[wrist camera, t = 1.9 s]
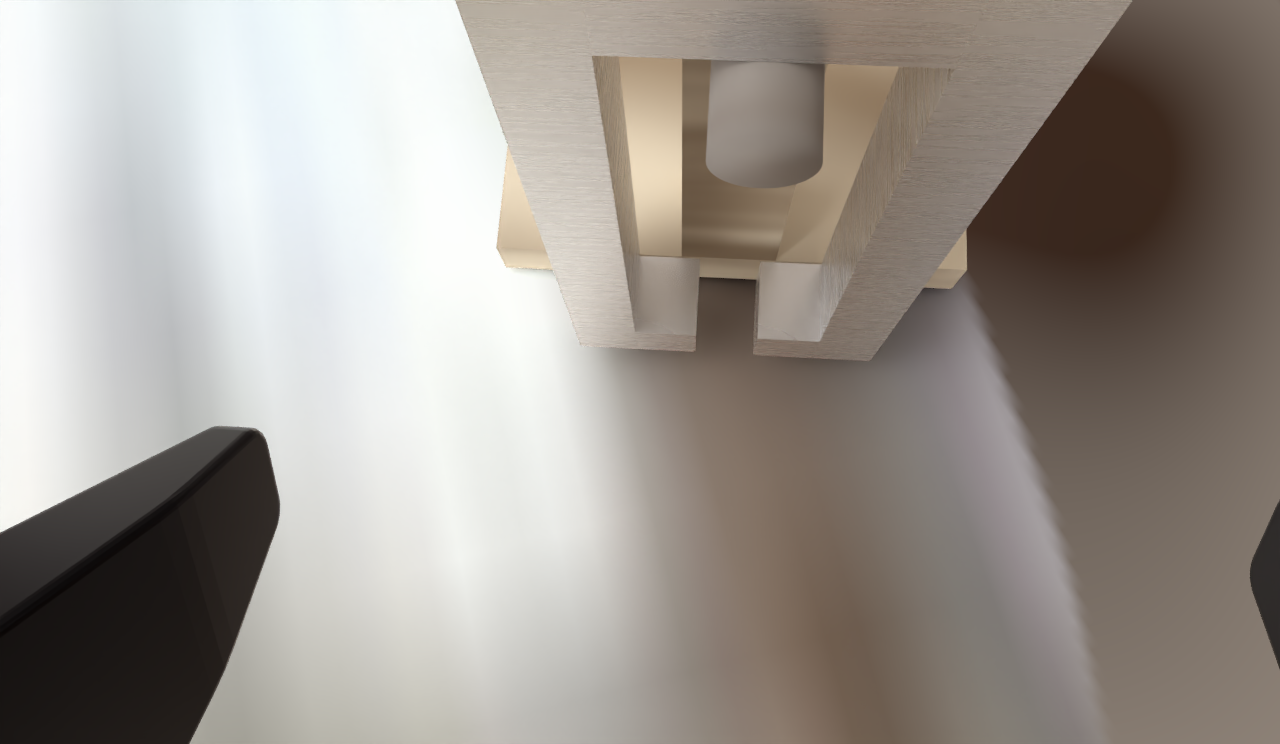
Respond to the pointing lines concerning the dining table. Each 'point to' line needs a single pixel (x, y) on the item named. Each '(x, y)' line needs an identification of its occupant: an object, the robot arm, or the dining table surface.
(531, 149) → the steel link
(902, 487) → the dining table surface
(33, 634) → the robot arm
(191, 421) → the dining table surface
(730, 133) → the birch stand
